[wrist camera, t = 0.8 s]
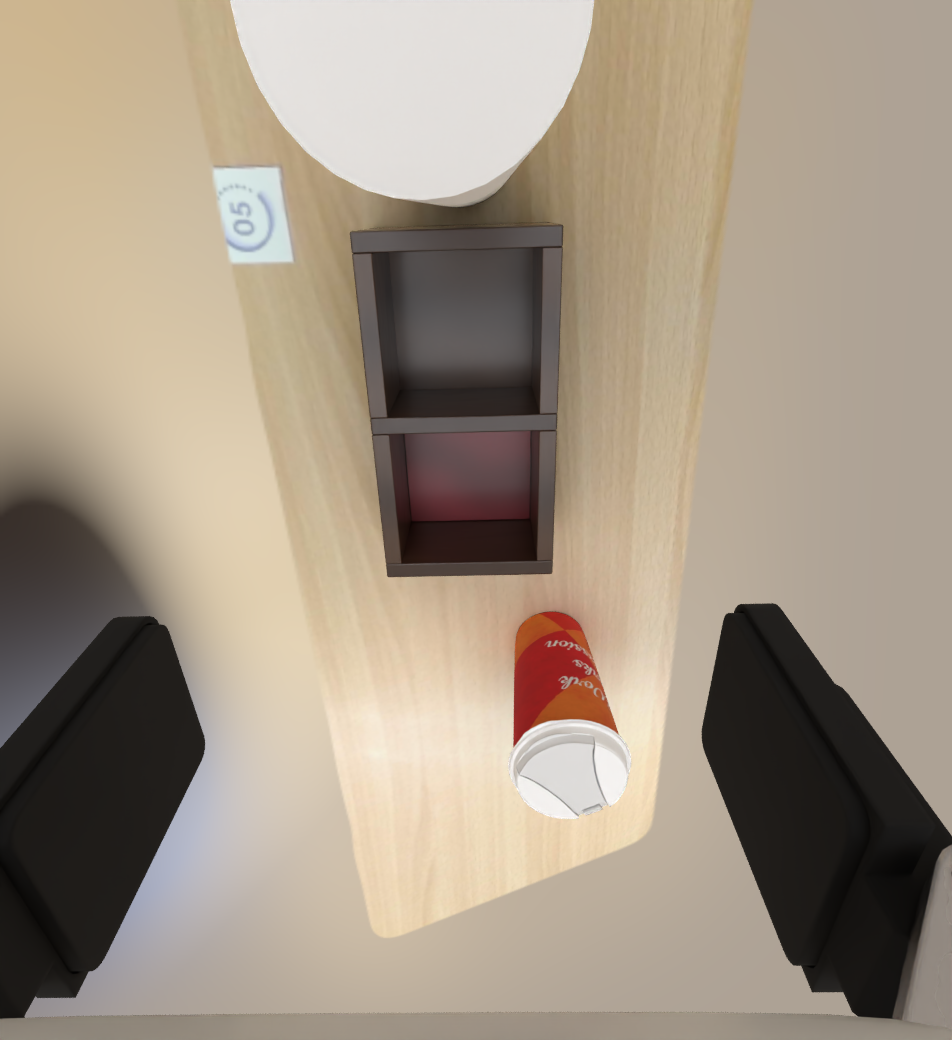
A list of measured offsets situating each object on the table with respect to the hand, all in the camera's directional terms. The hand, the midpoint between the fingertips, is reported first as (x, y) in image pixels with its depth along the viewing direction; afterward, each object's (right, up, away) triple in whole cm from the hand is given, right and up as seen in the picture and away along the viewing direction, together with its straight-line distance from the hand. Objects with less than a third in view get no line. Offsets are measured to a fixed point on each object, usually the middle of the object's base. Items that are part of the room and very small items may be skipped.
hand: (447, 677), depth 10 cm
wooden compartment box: (0, +11, +30) cm, 32 cm away
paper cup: (+6, -7, +40) cm, 41 cm away
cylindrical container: (-1, +24, +24) cm, 34 cm away
